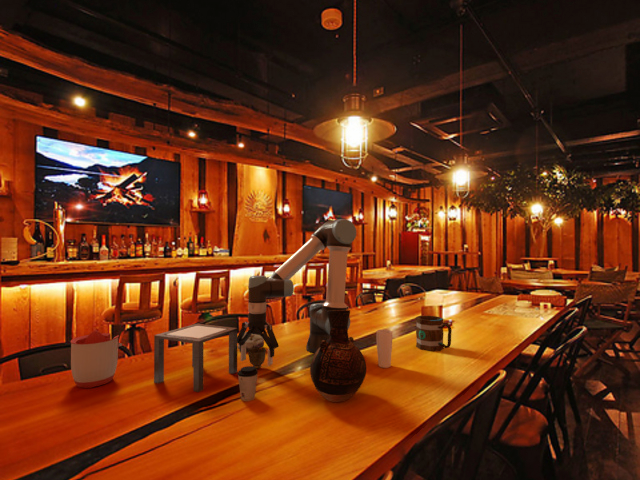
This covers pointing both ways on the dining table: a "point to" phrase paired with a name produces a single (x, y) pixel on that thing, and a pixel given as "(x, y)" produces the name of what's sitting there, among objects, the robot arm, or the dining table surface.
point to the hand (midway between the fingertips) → (256, 362)
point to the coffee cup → (247, 382)
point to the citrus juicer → (94, 359)
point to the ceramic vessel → (338, 361)
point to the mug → (431, 333)
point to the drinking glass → (384, 347)
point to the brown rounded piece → (257, 356)
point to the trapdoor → (196, 332)
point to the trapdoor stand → (194, 353)
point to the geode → (253, 342)
